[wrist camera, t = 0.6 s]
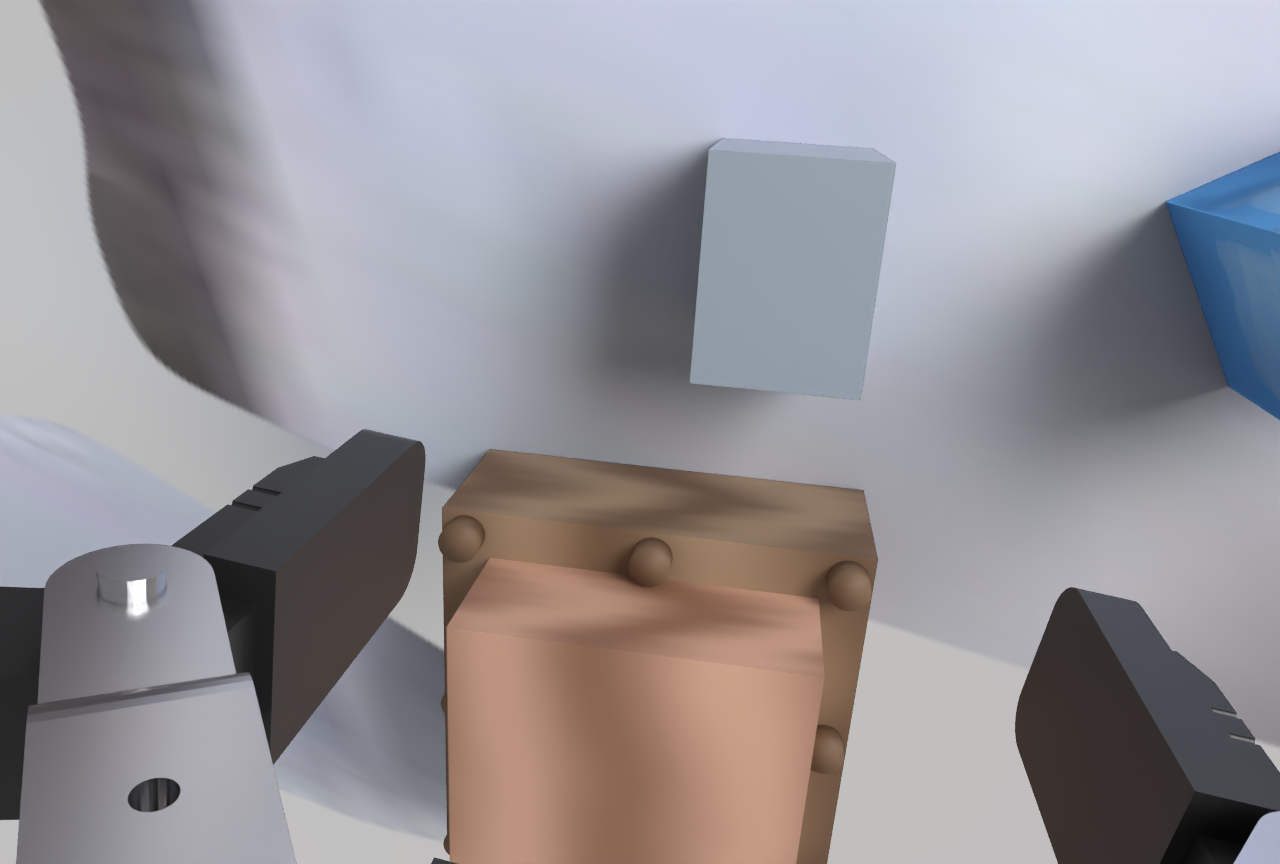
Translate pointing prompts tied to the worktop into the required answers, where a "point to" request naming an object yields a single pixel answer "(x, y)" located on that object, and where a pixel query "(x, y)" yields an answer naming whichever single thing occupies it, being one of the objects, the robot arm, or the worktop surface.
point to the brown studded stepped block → (648, 662)
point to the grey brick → (789, 266)
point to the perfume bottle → (1238, 272)
